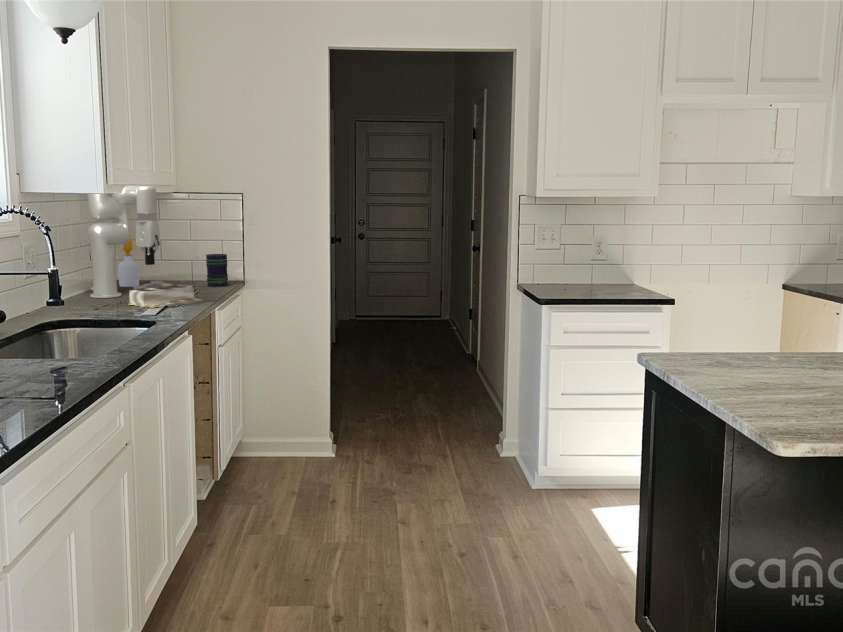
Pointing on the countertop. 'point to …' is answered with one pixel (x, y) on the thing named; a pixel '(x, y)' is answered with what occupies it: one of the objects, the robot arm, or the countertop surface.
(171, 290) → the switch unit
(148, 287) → the rocker
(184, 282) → the rocker
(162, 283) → the rocker middle
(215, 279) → the storage jar
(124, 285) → the soap bottle
